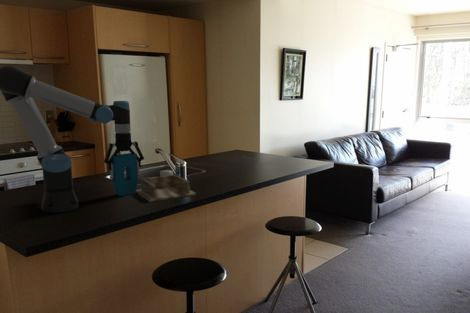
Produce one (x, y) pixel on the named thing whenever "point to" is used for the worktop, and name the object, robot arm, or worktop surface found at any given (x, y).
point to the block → (130, 182)
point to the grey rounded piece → (166, 172)
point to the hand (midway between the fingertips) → (125, 175)
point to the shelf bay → (164, 188)
